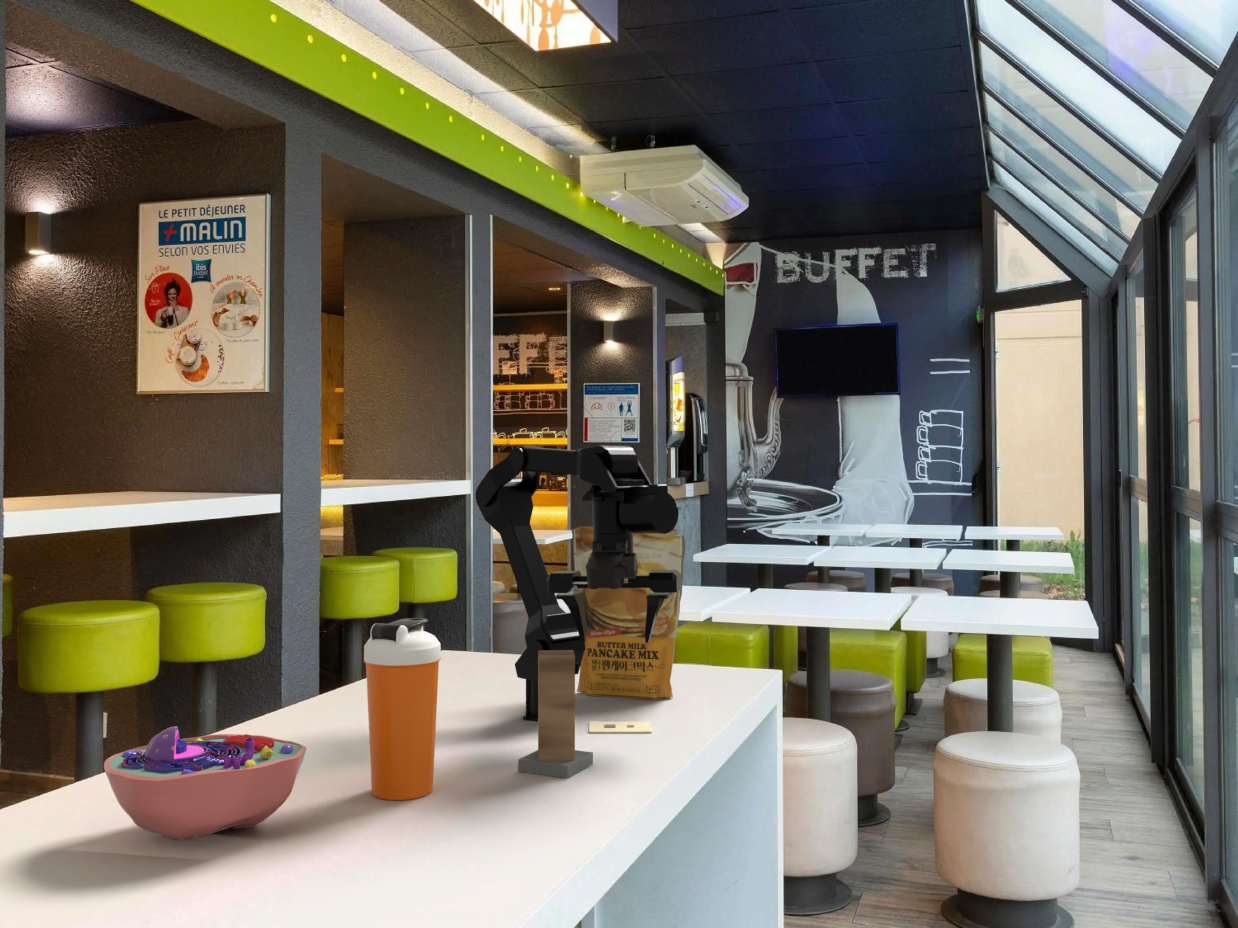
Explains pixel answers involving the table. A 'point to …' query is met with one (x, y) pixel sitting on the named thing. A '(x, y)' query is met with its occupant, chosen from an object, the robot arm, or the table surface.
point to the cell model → (203, 781)
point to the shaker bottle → (402, 707)
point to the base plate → (555, 764)
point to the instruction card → (620, 727)
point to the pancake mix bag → (629, 623)
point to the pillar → (556, 705)
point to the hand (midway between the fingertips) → (615, 642)
